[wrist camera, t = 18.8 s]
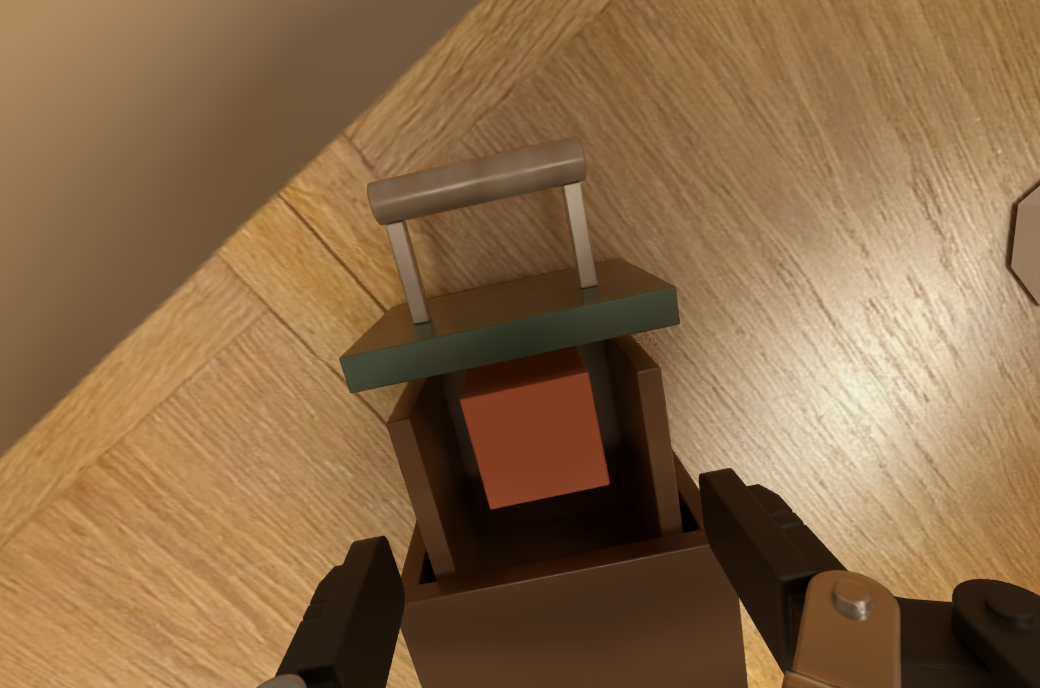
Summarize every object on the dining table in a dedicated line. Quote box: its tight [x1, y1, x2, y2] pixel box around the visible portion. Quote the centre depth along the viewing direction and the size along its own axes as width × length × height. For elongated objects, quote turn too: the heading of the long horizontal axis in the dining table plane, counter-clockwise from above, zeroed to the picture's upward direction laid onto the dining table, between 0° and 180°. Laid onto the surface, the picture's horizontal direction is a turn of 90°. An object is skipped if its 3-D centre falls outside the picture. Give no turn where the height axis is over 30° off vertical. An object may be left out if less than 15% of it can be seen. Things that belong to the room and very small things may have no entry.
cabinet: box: [400, 449, 748, 688], centre depth 23 cm, size 14×12×9 cm
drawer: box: [339, 136, 683, 581], centre depth 19 cm, size 17×10×7 cm, turn 12°
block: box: [460, 346, 610, 509], centre depth 20 cm, size 4×4×5 cm
